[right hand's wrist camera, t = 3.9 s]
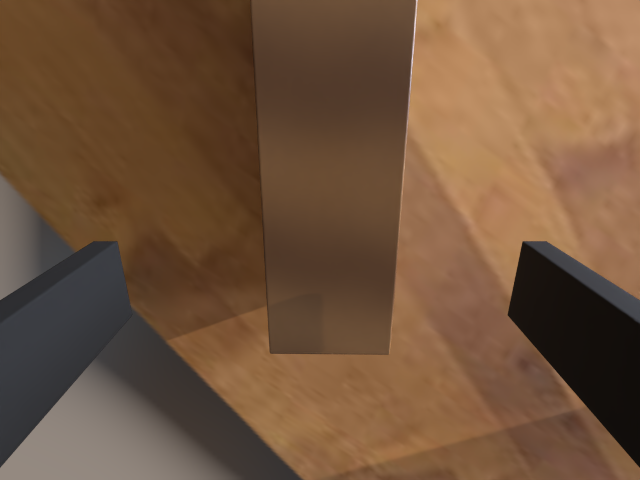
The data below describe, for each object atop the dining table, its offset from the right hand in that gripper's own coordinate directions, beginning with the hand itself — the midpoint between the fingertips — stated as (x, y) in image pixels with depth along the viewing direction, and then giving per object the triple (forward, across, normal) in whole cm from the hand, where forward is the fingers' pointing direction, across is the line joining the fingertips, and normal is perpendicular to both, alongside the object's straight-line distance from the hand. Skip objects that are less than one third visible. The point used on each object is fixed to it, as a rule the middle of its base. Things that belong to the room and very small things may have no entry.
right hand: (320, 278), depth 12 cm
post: (+10, 0, -32) cm, 33 cm away
